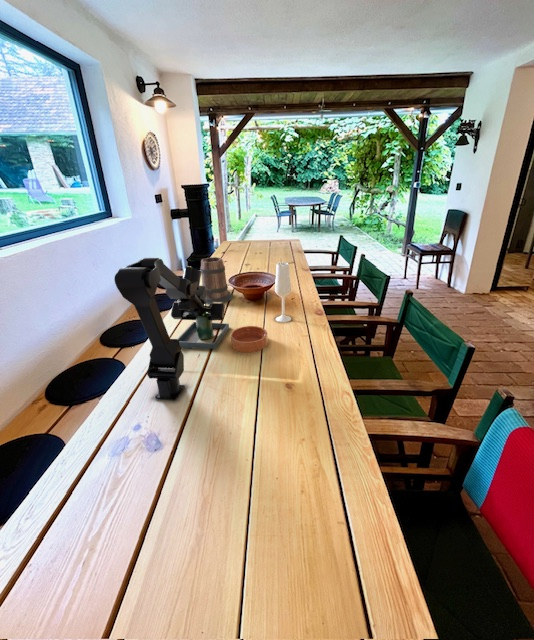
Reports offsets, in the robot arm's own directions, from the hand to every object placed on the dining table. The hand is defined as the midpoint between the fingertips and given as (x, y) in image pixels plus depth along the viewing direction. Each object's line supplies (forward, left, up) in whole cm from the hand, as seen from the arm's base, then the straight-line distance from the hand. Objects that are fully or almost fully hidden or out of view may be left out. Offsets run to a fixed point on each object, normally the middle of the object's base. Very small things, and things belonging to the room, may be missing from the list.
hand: (205, 319), depth 122 cm
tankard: (+45, +12, -8) cm, 47 cm away
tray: (-1, +1, -7) cm, 8 cm away
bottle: (-1, 0, -6) cm, 7 cm away
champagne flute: (+20, -27, -8) cm, 34 cm away
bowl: (-4, -18, -7) cm, 20 cm away
